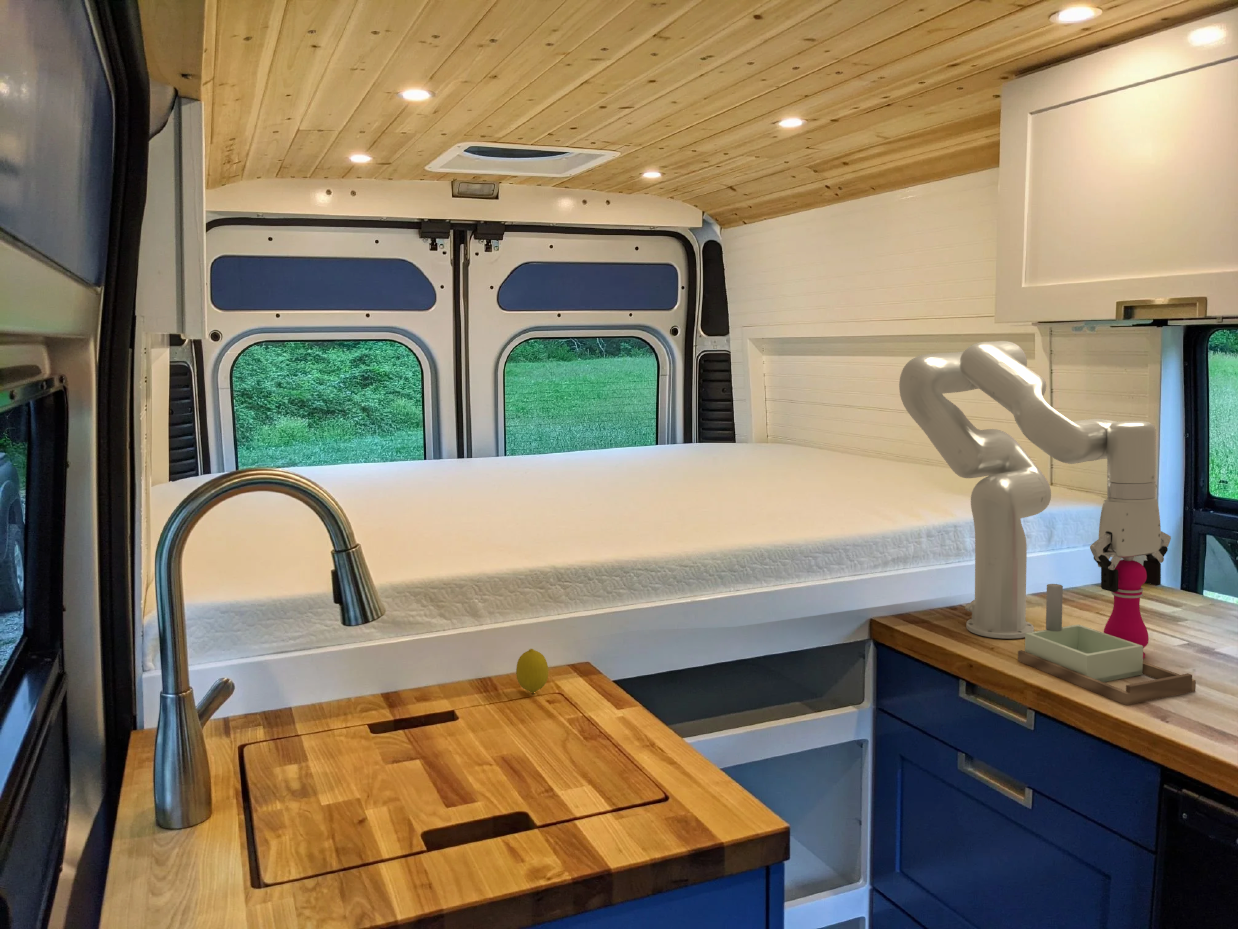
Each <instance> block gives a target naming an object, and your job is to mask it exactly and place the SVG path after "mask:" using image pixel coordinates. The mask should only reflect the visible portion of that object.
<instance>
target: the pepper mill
mask: <svg viewBox="0 0 1238 929" xmlns="http://www.w3.org/2000/svg"><path fill="white" fill-rule="evenodd" d="M1134 558H1135V556H1134V557H1127V558H1122V559H1120V561H1119V563H1118V564H1117V566H1116V568H1115V569H1117V570H1118V591H1117V592H1111V591H1110V594H1112V595H1113V606H1112V607H1113V608H1112V610H1111V613H1110V615H1109V618H1108V620H1107V621H1106V623H1105V625H1104V629H1103V633H1106V634H1109V635H1112V636H1115V637H1118V638H1121V639H1124V640H1127V641H1130V642H1133V643H1136V644H1139V645H1142V646H1143V649H1144V648H1146V647H1147V646H1148V644H1149V641H1150V640H1149V638H1150V637H1149V633H1148V632H1149V631H1148V629H1147V626H1146V625H1145V622H1144V620H1143V616H1142V614H1141V610H1140V609H1141V608H1140V606H1141V604H1140V602H1141V598H1142V597H1143V596H1144V593H1143V591H1144V588H1143V587H1142V586H1143V585H1144V584H1146V583H1145V582H1146V579H1147V574H1146V570H1145V568H1144V566H1143V564H1142V563H1140V562H1139V561H1137V560H1134ZM1145 658H1146V653H1145V652H1144V651H1143V659H1145Z"/></svg>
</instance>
